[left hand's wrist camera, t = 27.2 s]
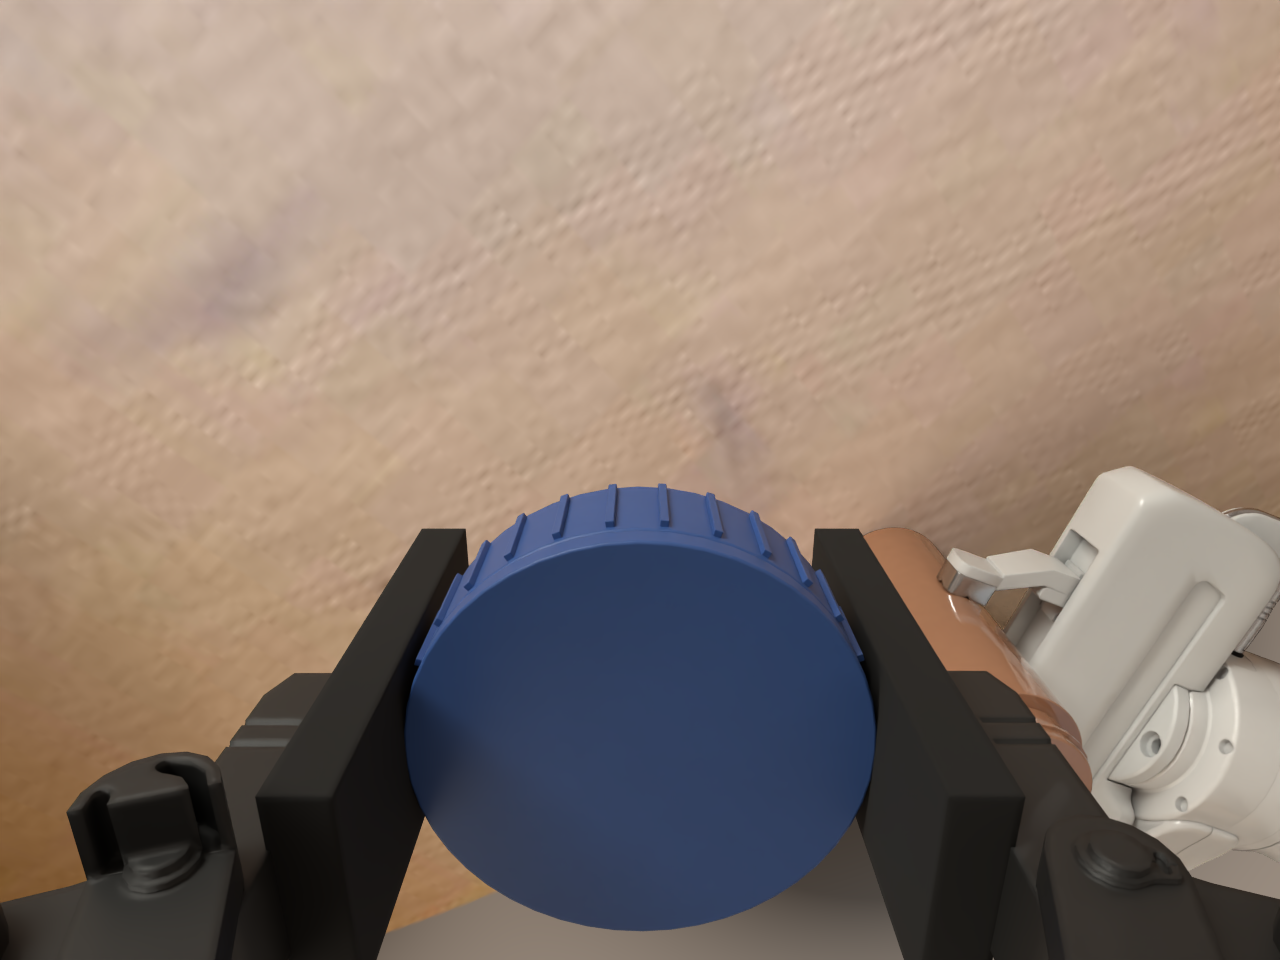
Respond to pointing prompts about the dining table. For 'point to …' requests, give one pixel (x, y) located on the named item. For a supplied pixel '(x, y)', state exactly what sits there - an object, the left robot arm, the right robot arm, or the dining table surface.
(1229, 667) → the right robot arm
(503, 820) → the lid
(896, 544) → the jar
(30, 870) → the dining table surface
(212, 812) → the left robot arm
